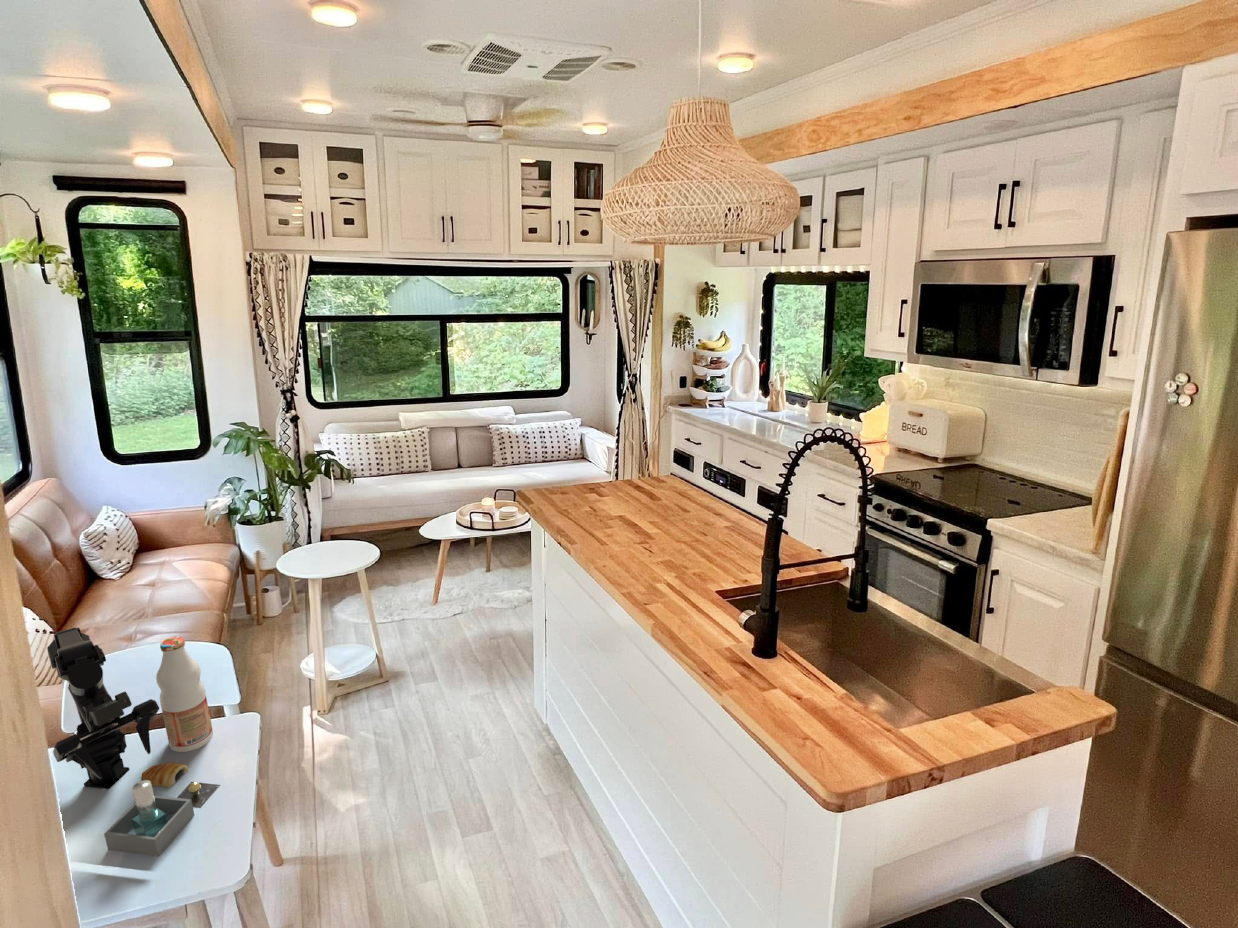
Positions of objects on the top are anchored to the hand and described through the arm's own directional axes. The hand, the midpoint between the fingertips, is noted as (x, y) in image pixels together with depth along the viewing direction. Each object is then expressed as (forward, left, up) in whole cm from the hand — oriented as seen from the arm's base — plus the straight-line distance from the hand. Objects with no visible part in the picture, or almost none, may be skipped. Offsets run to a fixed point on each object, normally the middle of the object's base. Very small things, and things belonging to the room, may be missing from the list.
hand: (125, 765), depth 159 cm
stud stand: (+9, +7, -14) cm, 17 cm away
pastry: (-2, +11, -14) cm, 18 cm away
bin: (+7, -4, -14) cm, 16 cm away
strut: (+6, -4, -13) cm, 15 cm away
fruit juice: (-4, +24, -14) cm, 28 cm away
